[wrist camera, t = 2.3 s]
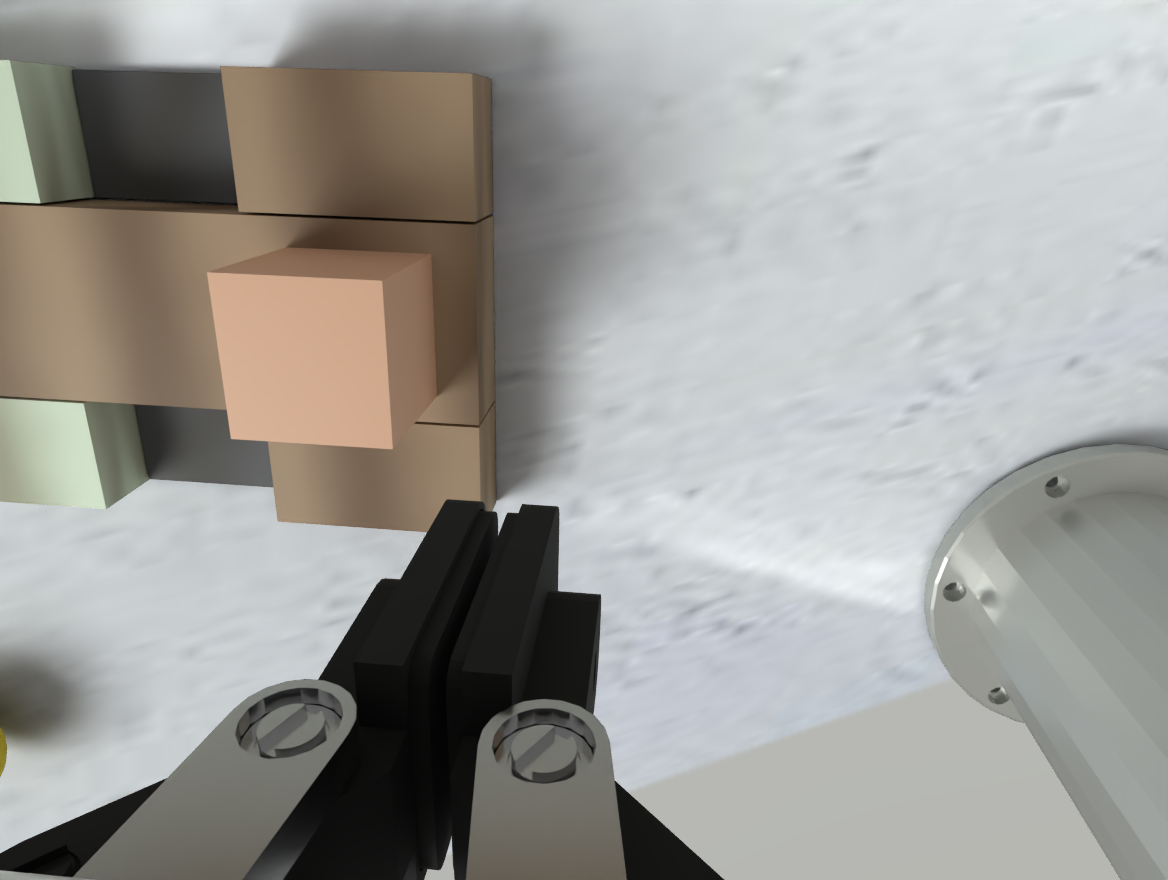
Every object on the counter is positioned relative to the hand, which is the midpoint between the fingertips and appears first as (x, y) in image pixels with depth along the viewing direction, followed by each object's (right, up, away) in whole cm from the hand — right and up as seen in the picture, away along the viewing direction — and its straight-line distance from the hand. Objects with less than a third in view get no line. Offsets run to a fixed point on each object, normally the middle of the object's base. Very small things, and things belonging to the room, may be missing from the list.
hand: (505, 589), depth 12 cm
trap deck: (-14, +8, +19) cm, 25 cm away
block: (-6, +6, +15) cm, 18 cm away
